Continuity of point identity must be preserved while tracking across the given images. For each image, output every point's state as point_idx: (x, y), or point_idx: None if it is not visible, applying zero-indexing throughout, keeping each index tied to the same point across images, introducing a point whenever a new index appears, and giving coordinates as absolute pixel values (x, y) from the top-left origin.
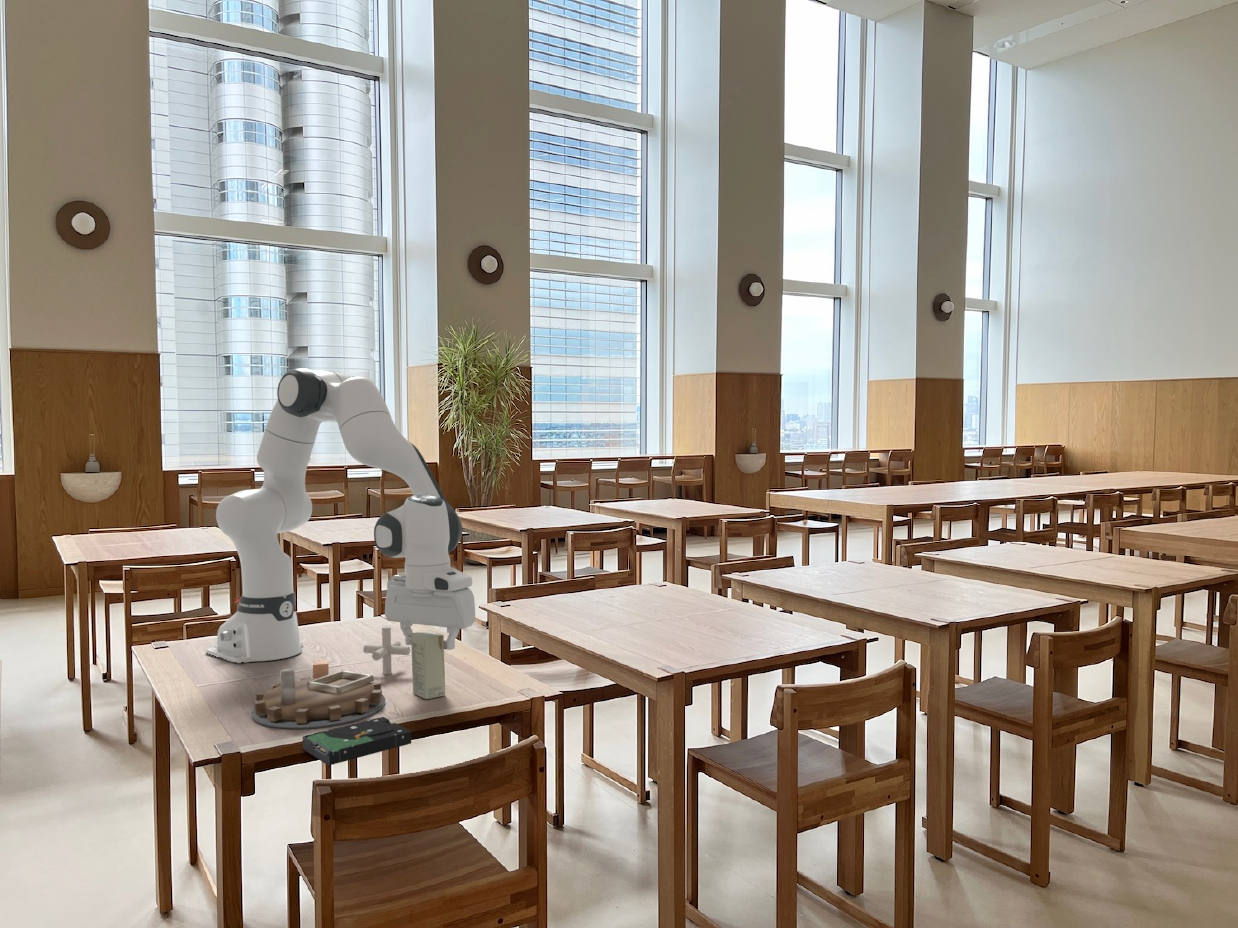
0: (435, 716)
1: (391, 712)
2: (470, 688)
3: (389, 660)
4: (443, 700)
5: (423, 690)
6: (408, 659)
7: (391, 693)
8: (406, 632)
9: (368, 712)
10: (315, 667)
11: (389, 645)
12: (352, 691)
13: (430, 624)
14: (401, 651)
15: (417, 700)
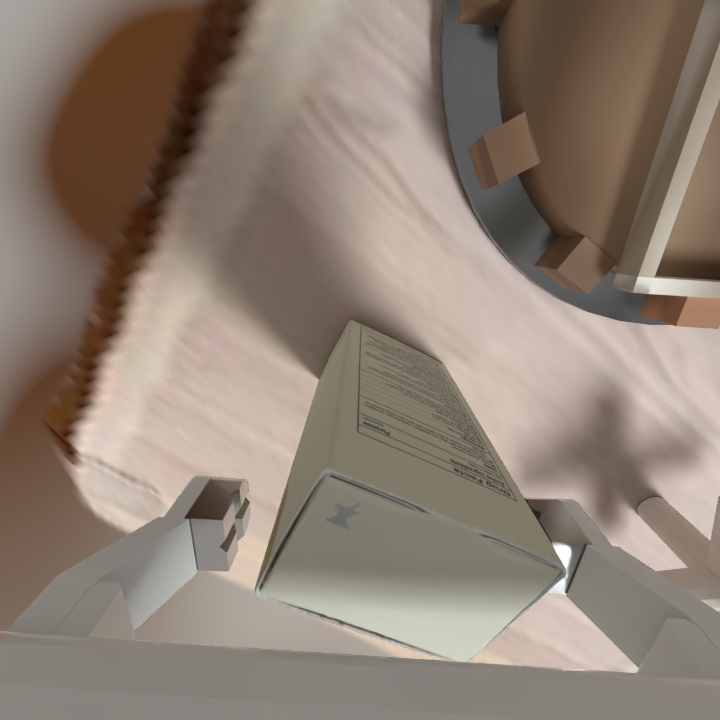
0: (190, 161)
1: (383, 125)
2: None
3: (678, 543)
4: (294, 338)
5: (369, 335)
6: None
7: (520, 335)
8: (623, 579)
9: (454, 20)
10: None
11: None
12: (641, 81)
13: (284, 661)
14: None
15: (379, 302)
